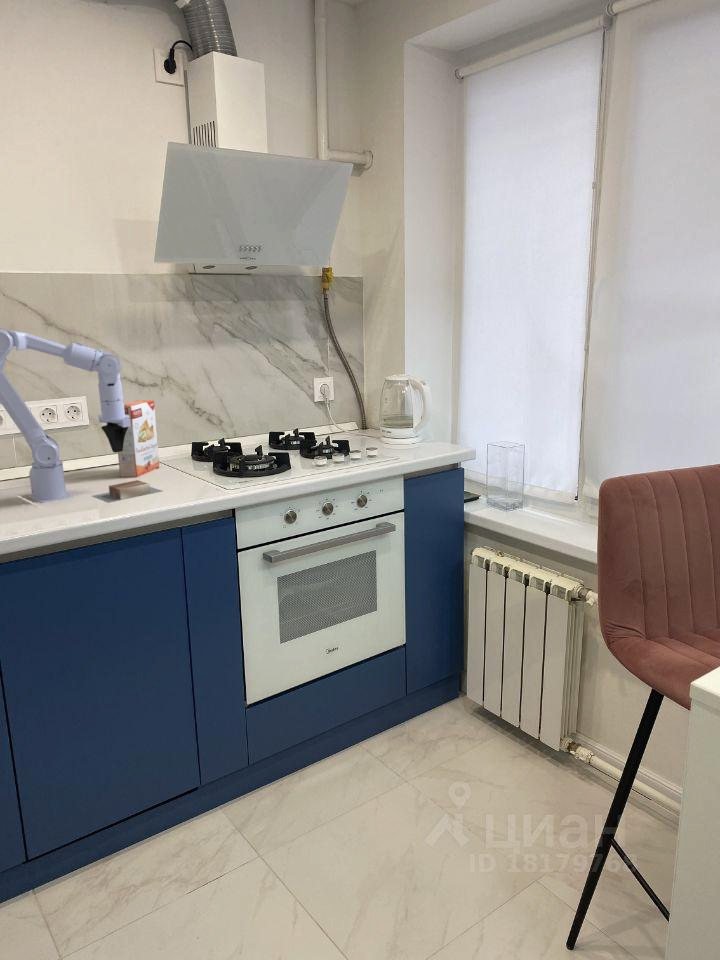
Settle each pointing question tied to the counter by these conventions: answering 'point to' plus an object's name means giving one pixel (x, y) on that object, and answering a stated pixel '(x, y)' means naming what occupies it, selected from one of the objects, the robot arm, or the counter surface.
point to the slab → (129, 489)
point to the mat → (109, 498)
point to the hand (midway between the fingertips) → (117, 451)
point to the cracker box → (139, 440)
